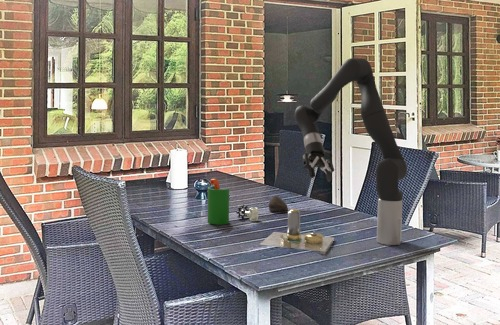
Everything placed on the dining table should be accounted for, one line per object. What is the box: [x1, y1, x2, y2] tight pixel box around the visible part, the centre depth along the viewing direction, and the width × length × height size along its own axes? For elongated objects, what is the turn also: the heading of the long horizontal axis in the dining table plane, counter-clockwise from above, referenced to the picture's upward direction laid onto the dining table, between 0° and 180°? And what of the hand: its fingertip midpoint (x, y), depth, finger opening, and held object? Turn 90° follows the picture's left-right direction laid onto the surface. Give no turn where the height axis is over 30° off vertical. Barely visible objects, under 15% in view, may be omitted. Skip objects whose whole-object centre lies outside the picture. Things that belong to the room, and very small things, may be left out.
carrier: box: [259, 231, 335, 255], centre depth 205 cm, size 25×19×4 cm
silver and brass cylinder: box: [285, 208, 302, 241], centre depth 207 cm, size 6×6×12 cm
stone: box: [268, 195, 289, 212], centre depth 261 cm, size 10×8×10 cm
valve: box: [235, 204, 259, 222], centre depth 241 cm, size 7×7×12 cm
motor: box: [207, 178, 230, 226], centre depth 237 cm, size 10×9×20 cm
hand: (321, 178), depth 214 cm, fingers open, 8 cm apart
